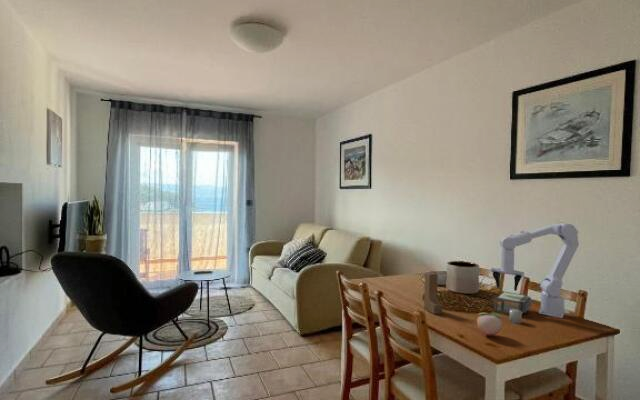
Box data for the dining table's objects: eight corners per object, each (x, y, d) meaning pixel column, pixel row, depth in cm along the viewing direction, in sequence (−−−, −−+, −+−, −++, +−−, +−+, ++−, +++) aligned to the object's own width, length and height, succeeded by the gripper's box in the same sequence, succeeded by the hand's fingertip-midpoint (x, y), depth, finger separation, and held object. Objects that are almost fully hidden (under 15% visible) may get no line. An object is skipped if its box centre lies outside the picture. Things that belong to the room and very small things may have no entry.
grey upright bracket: (442, 314, 166) (443, 276, 166) (434, 314, 165) (434, 276, 165) (432, 307, 175) (432, 271, 175) (423, 308, 174) (424, 272, 174)
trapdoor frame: (527, 309, 174) (527, 295, 174) (520, 317, 163) (521, 302, 163) (501, 304, 182) (502, 291, 182) (494, 311, 171) (494, 297, 170)
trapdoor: (530, 306, 172) (531, 296, 172) (525, 312, 163) (526, 302, 163) (503, 300, 180) (504, 292, 180) (497, 306, 171) (497, 297, 171)
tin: (450, 284, 220) (451, 271, 220) (452, 286, 217) (452, 272, 217) (426, 283, 222) (426, 270, 221) (427, 285, 218) (427, 271, 218)
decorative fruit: (480, 339, 138) (480, 314, 138) (474, 331, 146) (475, 307, 146) (505, 341, 137) (506, 315, 136) (499, 333, 145) (499, 309, 144)
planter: (458, 295, 196) (459, 267, 196) (440, 287, 213) (440, 261, 213) (485, 293, 201) (486, 266, 201) (465, 285, 218) (465, 260, 218)
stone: (522, 321, 158) (522, 310, 158) (520, 324, 155) (520, 313, 154) (510, 318, 161) (510, 308, 161) (508, 321, 158) (508, 310, 157)
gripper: (525, 262, 172) (525, 289, 172) (493, 258, 181) (493, 284, 181) (522, 264, 166) (522, 292, 167) (489, 260, 176) (489, 287, 176)
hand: (506, 288), depth 174 cm, fingers open, 7 cm apart
